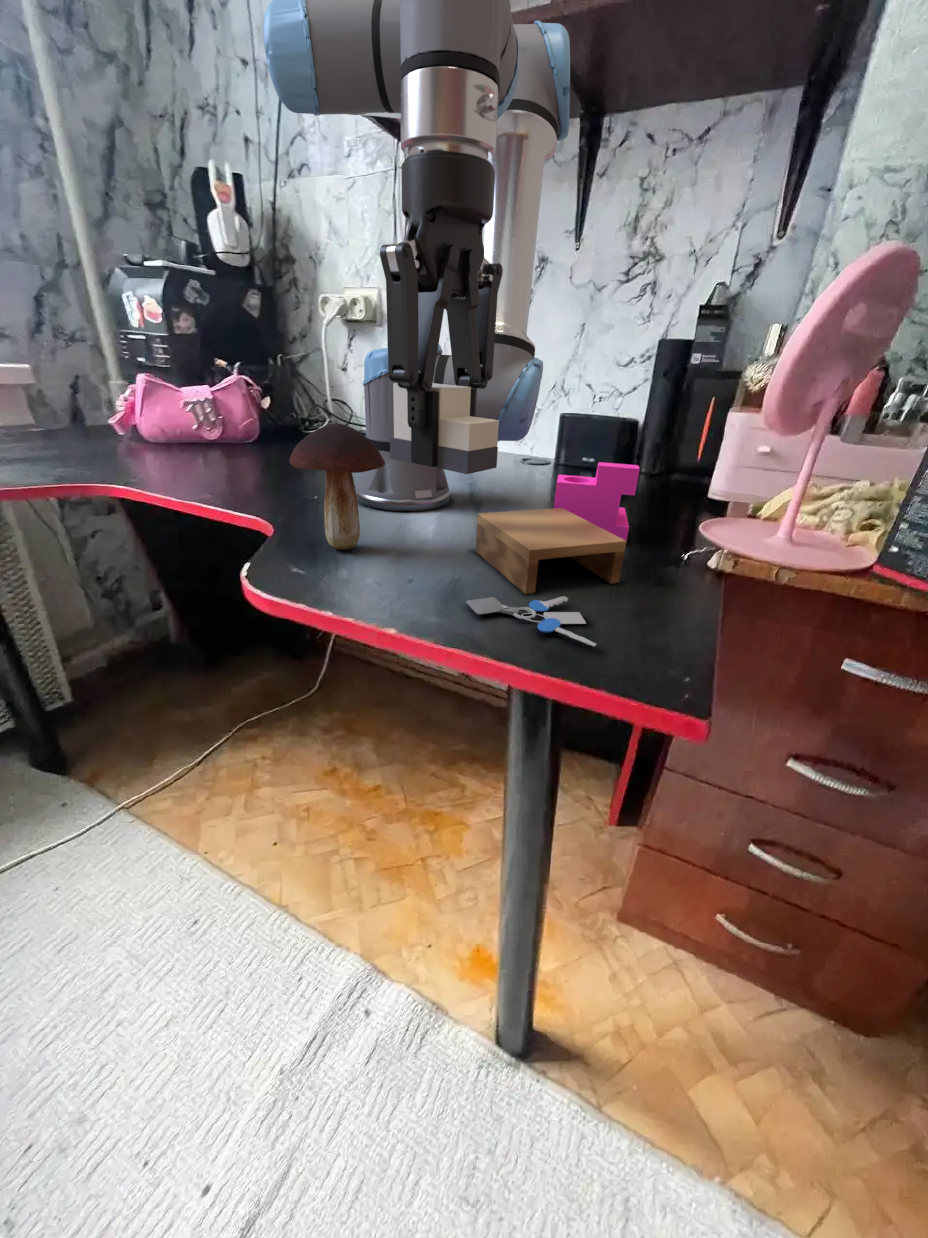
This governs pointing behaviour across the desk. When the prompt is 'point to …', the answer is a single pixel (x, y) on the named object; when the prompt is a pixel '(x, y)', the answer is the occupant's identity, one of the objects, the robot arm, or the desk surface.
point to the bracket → (599, 496)
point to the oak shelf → (546, 544)
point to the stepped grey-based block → (449, 431)
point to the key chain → (546, 625)
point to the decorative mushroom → (338, 476)
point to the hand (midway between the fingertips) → (442, 459)
